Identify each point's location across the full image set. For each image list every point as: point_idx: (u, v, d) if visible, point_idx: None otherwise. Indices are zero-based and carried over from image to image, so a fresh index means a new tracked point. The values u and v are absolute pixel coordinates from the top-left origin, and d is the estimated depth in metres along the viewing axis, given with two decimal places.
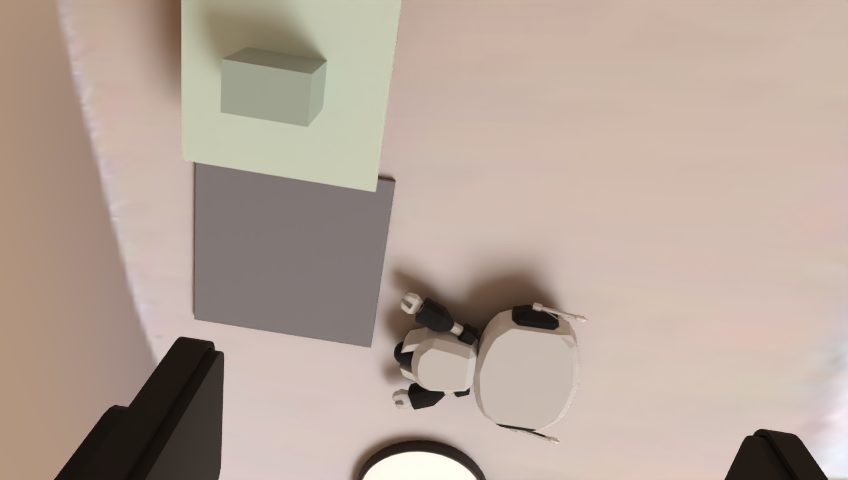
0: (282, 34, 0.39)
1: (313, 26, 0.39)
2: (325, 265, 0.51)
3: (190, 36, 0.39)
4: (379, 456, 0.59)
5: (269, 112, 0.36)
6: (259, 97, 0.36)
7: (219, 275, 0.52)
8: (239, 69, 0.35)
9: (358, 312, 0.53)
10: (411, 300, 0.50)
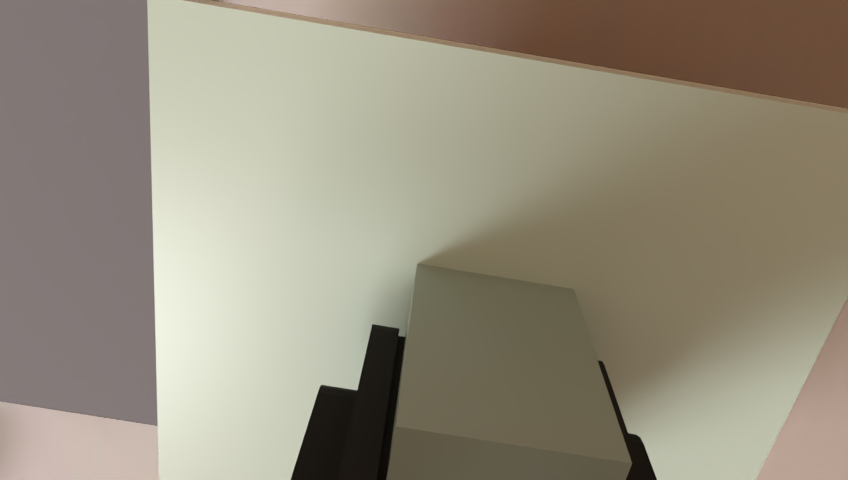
0: None
1: None
2: None
3: (630, 109, 0.11)
4: None
5: None
6: None
7: None
8: None
9: None
10: None
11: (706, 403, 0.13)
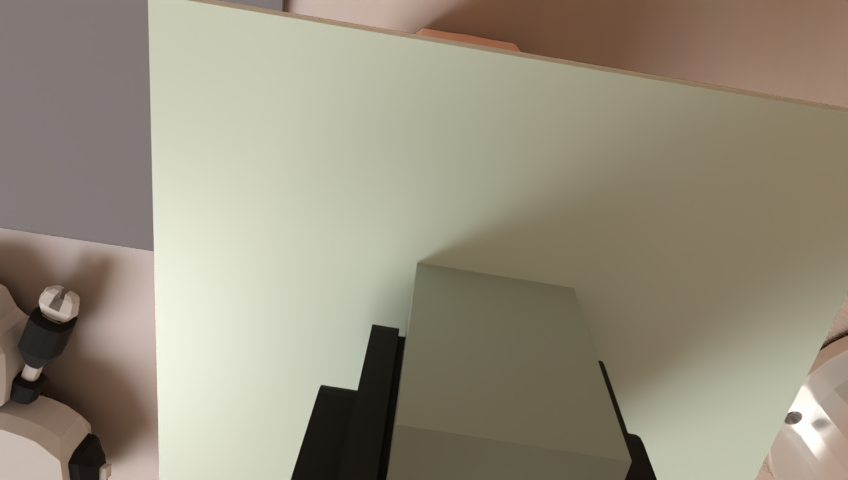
0: None
1: None
2: (94, 152, 0.28)
3: (630, 109, 0.11)
4: None
5: None
6: None
7: None
8: None
9: (12, 201, 0.29)
10: (65, 308, 0.30)
11: (706, 402, 0.13)
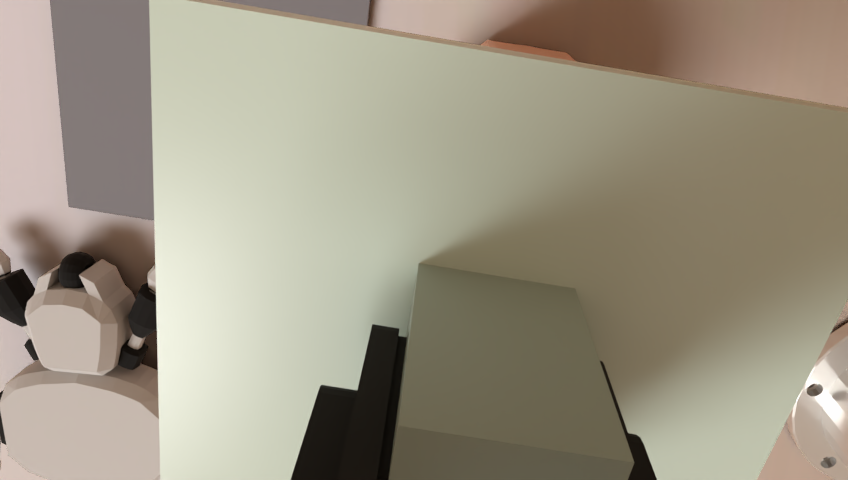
0: None
1: None
2: None
3: (632, 109, 0.11)
4: None
5: None
6: None
7: None
8: None
9: (126, 191, 0.34)
10: None
11: (708, 403, 0.13)
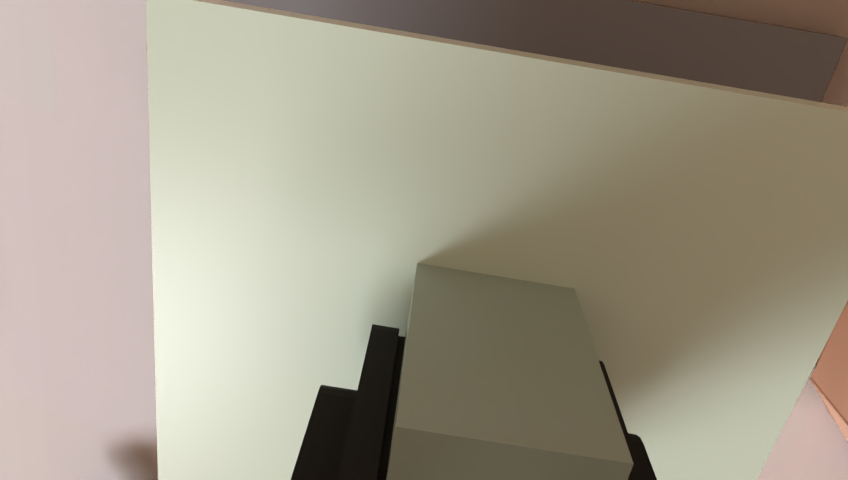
0: None
1: None
2: None
3: (632, 109, 0.11)
4: None
5: None
6: None
7: None
8: None
9: None
10: None
11: (708, 403, 0.13)
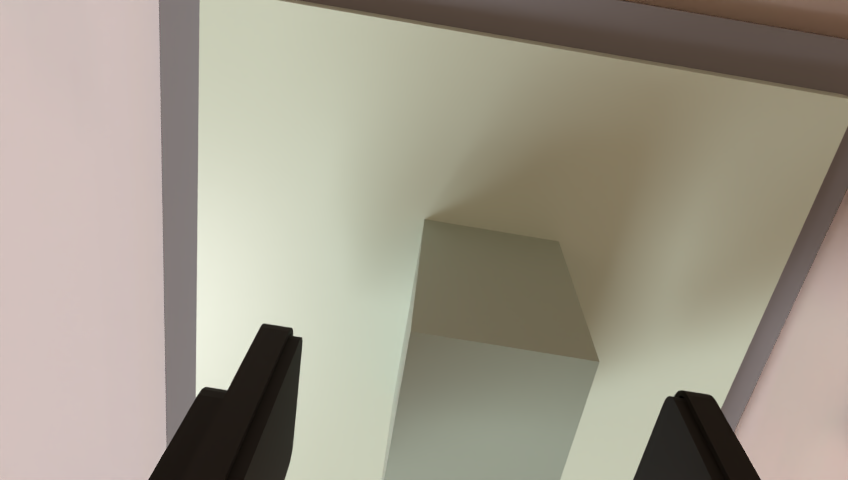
0: None
1: (593, 397, 0.16)
2: None
3: (605, 85, 0.13)
4: None
5: (412, 468, 0.11)
6: (463, 448, 0.11)
7: None
8: (556, 408, 0.10)
9: None
10: None
11: (674, 344, 0.15)
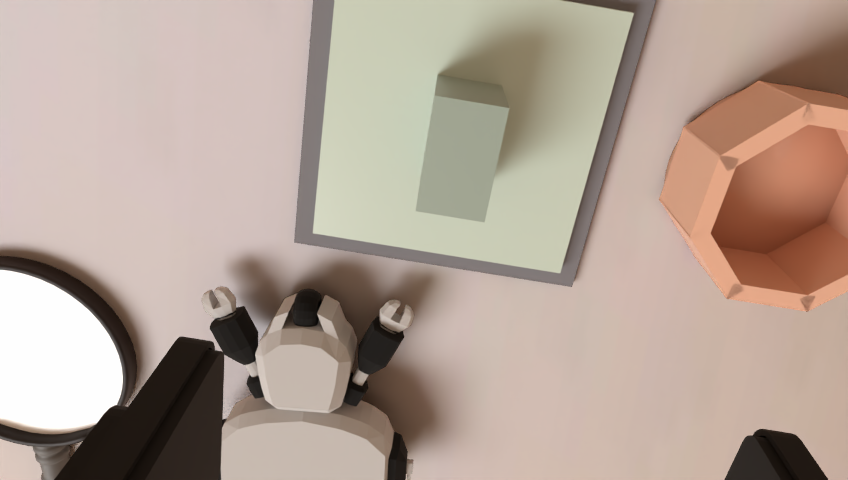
0: (515, 134, 0.30)
1: (522, 173, 0.31)
2: None
3: (520, 6, 0.28)
4: (89, 300, 0.36)
5: (434, 163, 0.26)
6: (455, 152, 0.26)
7: None
8: (493, 131, 0.26)
9: None
10: (405, 320, 0.34)
11: (561, 140, 0.30)
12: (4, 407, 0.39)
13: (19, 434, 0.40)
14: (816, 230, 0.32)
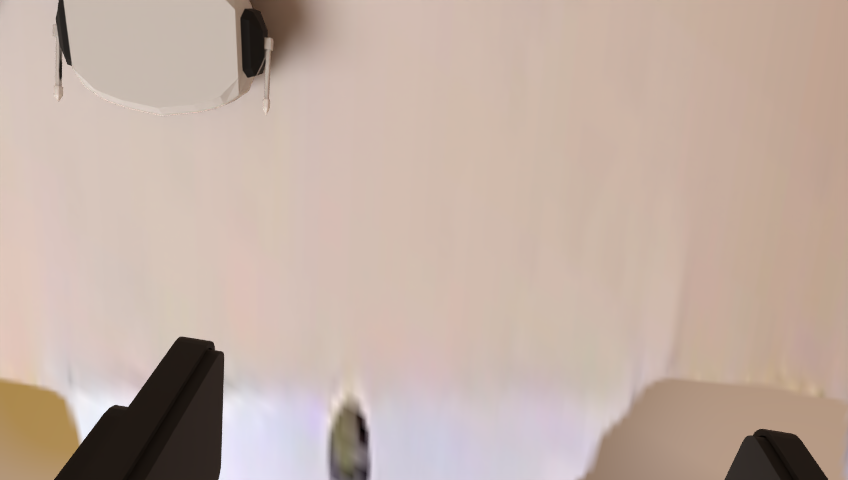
0: None
1: None
2: None
3: None
4: None
5: None
6: None
7: None
8: None
9: None
10: None
11: None
12: None
13: None
14: None
